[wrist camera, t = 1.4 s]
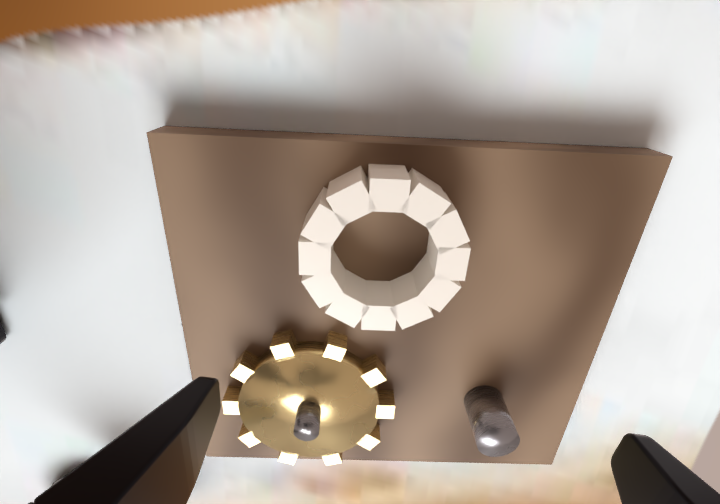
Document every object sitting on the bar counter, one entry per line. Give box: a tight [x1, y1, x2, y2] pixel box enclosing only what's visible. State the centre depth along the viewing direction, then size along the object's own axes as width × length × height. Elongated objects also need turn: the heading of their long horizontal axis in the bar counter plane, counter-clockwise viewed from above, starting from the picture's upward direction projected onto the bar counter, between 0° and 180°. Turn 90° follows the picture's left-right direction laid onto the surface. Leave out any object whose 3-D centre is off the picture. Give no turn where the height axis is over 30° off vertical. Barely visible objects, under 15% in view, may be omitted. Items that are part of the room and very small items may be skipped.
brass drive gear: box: [222, 329, 395, 466], centre depth 20 cm, size 8×8×2 cm
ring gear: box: [298, 164, 471, 331], centre depth 16 cm, size 6×6×2 cm
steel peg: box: [464, 385, 520, 457], centre depth 20 cm, size 2×2×3 cm
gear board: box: [147, 126, 672, 464], centre depth 20 cm, size 20×18×2 cm
